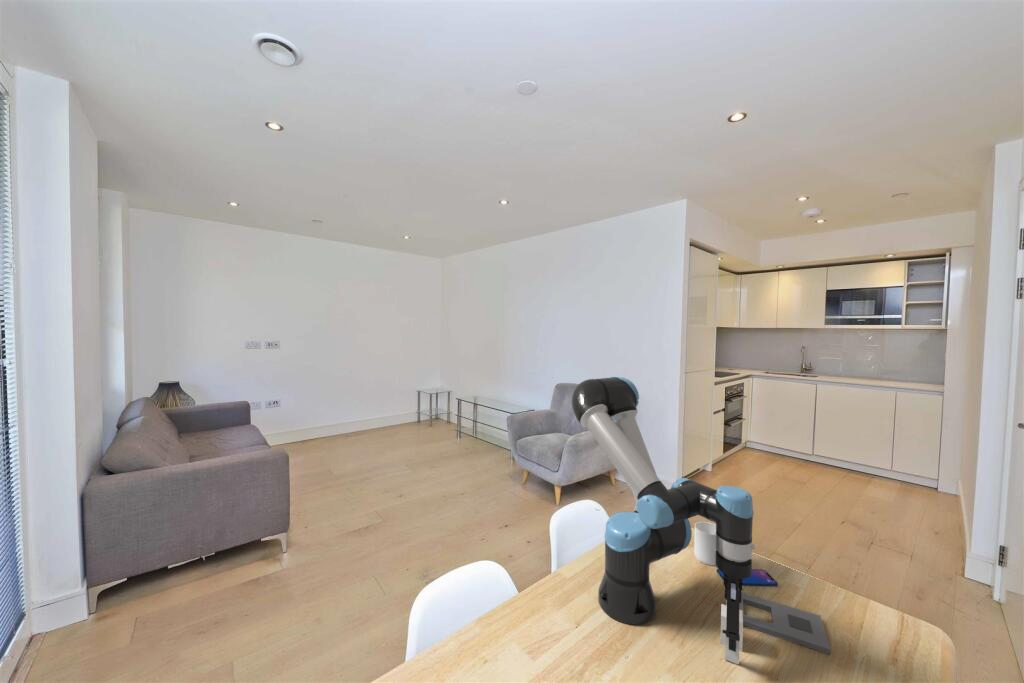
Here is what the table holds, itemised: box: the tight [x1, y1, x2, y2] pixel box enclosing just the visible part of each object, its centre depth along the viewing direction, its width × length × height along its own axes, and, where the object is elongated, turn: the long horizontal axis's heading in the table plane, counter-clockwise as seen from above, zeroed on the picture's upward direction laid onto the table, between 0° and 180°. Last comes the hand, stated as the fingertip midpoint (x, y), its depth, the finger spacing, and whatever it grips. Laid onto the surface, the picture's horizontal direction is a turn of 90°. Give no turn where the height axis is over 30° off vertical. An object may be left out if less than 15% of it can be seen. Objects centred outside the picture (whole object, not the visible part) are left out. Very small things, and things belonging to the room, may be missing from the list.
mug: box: [693, 521, 717, 567], centre depth 125 cm, size 12×8×10 cm
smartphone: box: [716, 568, 779, 587], centre depth 116 cm, size 7×1×15 cm
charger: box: [719, 603, 744, 652], centre depth 93 cm, size 4×4×7 cm
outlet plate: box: [739, 591, 831, 655], centre depth 99 cm, size 20×12×1 cm, turn 60°
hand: (731, 640), depth 93 cm, fingers open, 12 cm apart
